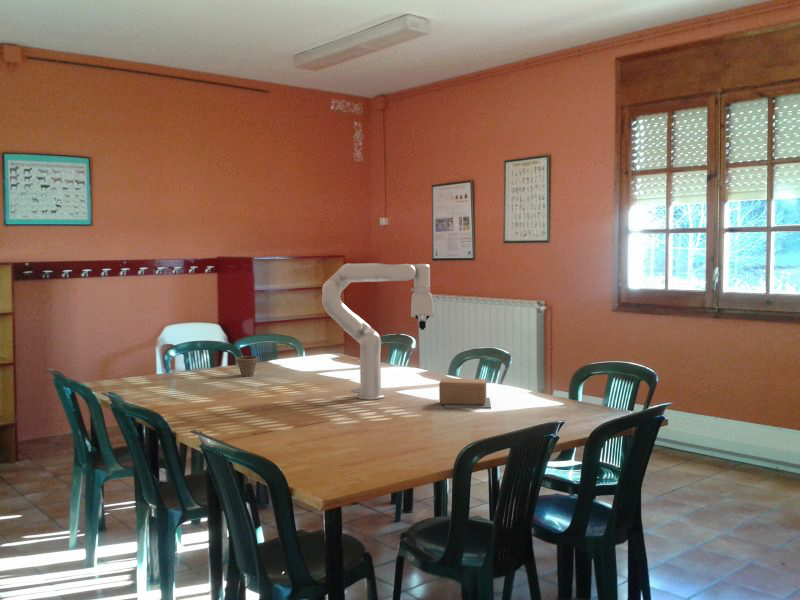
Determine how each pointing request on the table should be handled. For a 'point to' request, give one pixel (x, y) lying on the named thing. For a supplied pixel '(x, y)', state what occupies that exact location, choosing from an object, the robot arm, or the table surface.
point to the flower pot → (247, 365)
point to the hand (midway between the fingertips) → (422, 329)
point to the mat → (486, 405)
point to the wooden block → (462, 391)
